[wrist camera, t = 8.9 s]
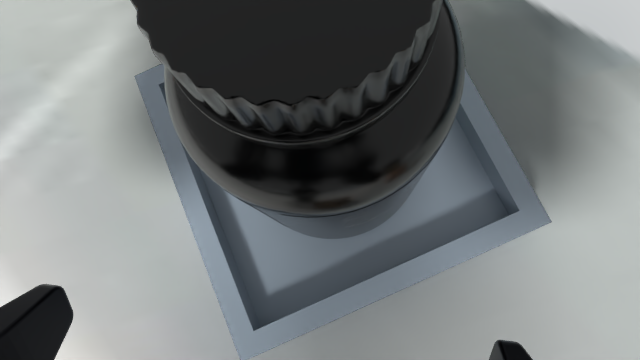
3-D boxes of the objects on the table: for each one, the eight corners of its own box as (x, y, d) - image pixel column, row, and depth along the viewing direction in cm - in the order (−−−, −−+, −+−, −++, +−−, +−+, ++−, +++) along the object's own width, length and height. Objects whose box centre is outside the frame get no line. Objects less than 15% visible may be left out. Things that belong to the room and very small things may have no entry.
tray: (532, 226, 18) (551, 222, 16) (253, 352, 18) (241, 362, 16) (397, -18, 20) (401, -45, 18) (154, 92, 20) (134, 76, 18)
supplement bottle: (418, 76, 19) (517, -255, 7) (419, 243, 17) (543, 187, 6) (255, 77, 19) (91, -225, 7) (244, 238, 18) (23, 177, 6)
